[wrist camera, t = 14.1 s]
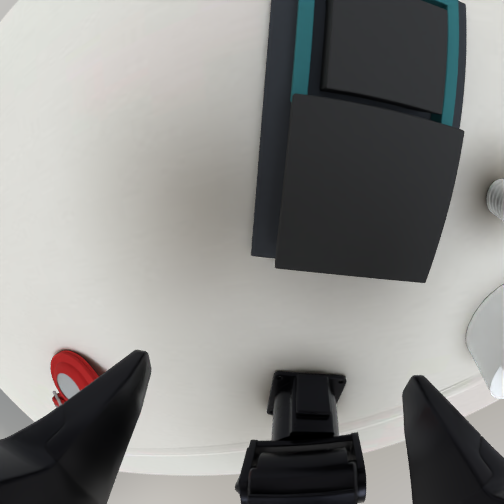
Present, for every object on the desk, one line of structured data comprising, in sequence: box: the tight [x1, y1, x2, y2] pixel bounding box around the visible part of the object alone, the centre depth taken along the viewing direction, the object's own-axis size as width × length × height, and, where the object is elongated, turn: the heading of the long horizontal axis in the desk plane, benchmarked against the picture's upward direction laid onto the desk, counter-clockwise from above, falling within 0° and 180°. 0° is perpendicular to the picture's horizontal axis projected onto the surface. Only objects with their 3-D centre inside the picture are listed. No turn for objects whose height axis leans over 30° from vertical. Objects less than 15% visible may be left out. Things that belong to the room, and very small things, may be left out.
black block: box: [319, 0, 448, 114], centre depth 12 cm, size 6×6×3 cm
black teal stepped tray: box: [251, 0, 466, 283], centre depth 15 cm, size 19×12×4 cm, turn 176°
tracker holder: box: [51, 350, 99, 407], centre depth 30 cm, size 12×4×10 cm
